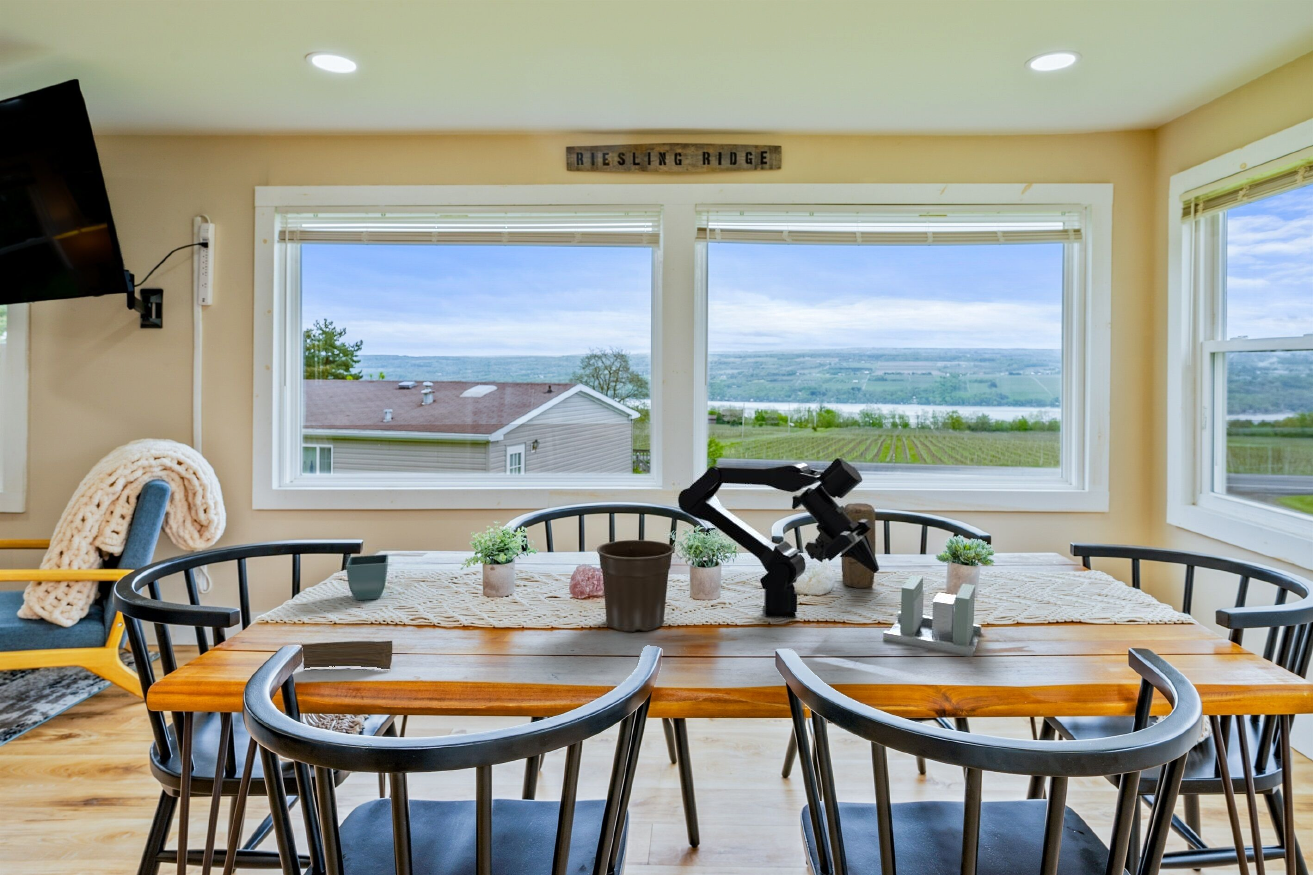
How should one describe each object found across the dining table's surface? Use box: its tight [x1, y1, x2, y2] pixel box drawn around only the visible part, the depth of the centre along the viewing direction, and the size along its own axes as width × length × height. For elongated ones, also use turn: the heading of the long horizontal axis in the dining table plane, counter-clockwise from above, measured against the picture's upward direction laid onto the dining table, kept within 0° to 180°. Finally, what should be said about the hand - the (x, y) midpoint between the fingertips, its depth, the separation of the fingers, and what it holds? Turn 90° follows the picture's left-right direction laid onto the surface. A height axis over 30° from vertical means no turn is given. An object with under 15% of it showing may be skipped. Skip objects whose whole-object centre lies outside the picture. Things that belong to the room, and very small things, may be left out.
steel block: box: [931, 592, 957, 643], centre depth 139 cm, size 4×6×8 cm, turn 150°
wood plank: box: [301, 640, 393, 670], centre depth 126 cm, size 15×2×5 cm, turn 94°
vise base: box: [882, 611, 982, 658], centre depth 141 cm, size 16×15×2 cm
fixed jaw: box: [953, 583, 976, 646], centre depth 138 cm, size 2×10×10 cm, turn 150°
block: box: [840, 502, 877, 589], centre depth 179 cm, size 11×8×20 cm
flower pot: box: [345, 554, 389, 601], centre depth 167 cm, size 9×9×9 cm
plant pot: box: [596, 539, 675, 633], centre depth 150 cm, size 16×16×16 cm
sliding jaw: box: [900, 574, 925, 636], centre depth 142 cm, size 2×10×10 cm, turn 150°
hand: (877, 571), depth 145 cm, fingers closed
